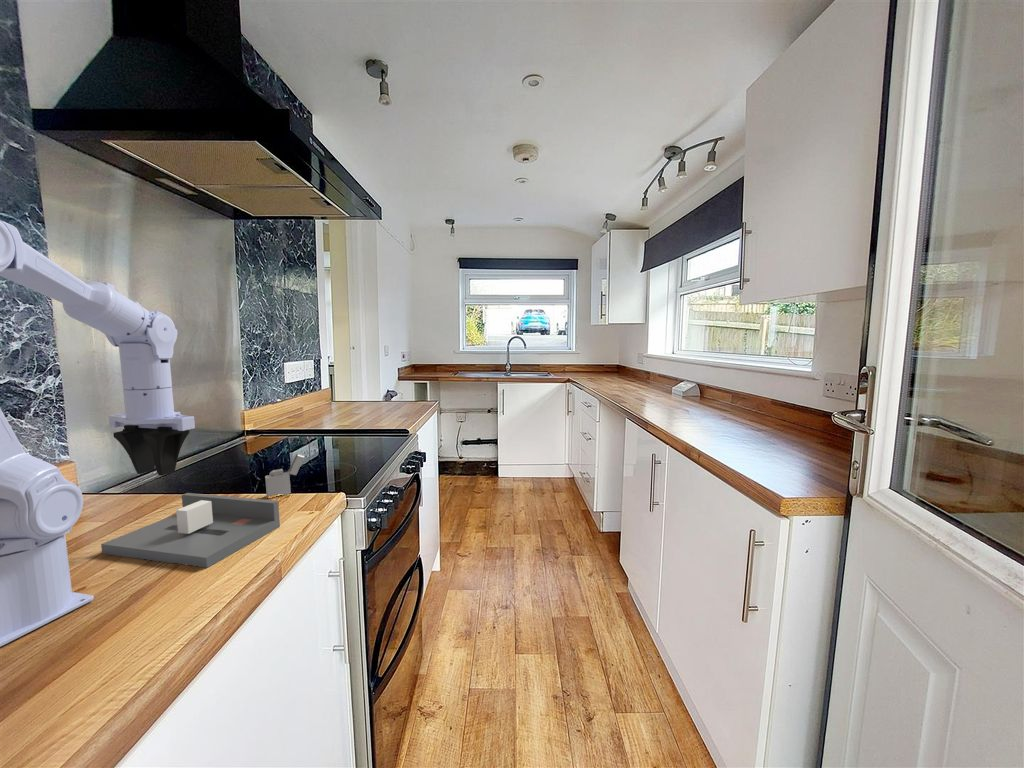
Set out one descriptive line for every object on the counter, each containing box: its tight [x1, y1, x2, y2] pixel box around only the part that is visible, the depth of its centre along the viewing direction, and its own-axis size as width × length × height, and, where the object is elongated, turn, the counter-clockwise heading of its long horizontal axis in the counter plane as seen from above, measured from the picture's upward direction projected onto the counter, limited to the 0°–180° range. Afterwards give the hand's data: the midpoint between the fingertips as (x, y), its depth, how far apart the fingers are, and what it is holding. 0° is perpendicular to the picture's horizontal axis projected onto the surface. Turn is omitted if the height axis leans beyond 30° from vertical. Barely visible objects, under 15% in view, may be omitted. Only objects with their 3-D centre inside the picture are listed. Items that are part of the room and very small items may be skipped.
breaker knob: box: [175, 500, 213, 534], centre depth 63 cm, size 4×2×4 cm, turn 168°
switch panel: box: [100, 492, 281, 569], centre depth 63 cm, size 13×19×4 cm
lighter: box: [264, 452, 305, 498], centre depth 83 cm, size 7×2×8 cm, turn 127°
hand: (156, 472), depth 64 cm, fingers open, 4 cm apart
